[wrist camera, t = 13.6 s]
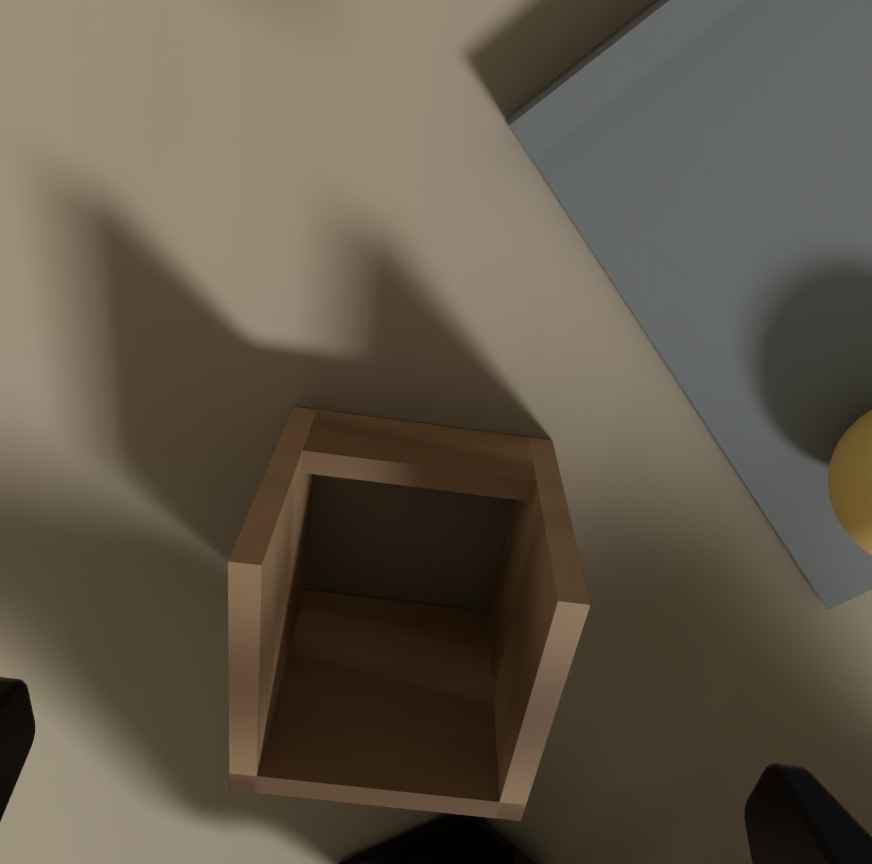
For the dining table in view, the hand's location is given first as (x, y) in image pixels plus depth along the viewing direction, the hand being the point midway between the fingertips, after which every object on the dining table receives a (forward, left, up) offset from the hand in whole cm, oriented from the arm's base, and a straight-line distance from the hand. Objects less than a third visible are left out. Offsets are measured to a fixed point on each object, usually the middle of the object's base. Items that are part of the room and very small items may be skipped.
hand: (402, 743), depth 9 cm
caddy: (-3, -3, -10) cm, 11 cm away
